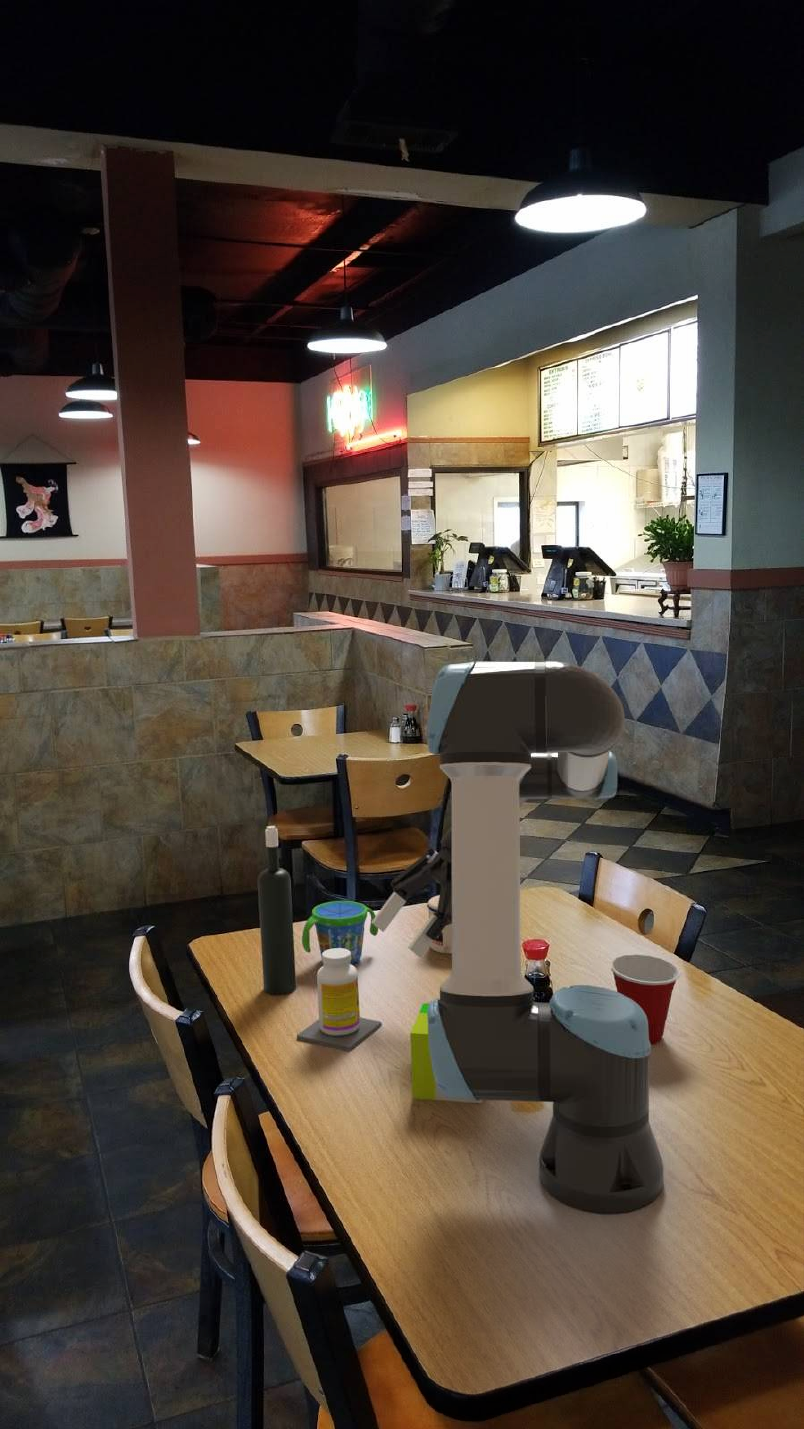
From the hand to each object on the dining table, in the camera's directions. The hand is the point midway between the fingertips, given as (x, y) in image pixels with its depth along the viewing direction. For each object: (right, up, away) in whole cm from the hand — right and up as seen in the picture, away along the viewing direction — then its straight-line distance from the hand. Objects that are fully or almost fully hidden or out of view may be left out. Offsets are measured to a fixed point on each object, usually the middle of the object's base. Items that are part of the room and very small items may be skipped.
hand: (394, 939), depth 178 cm
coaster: (-9, -15, -2) cm, 17 cm away
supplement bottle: (-9, -14, -2) cm, 17 cm away
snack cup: (-10, -10, +28) cm, 31 cm away
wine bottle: (-21, -12, +15) cm, 29 cm away
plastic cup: (+40, -14, -8) cm, 43 cm away
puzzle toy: (+9, -17, -20) cm, 28 cm away
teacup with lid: (+11, -9, +32) cm, 35 cm away
